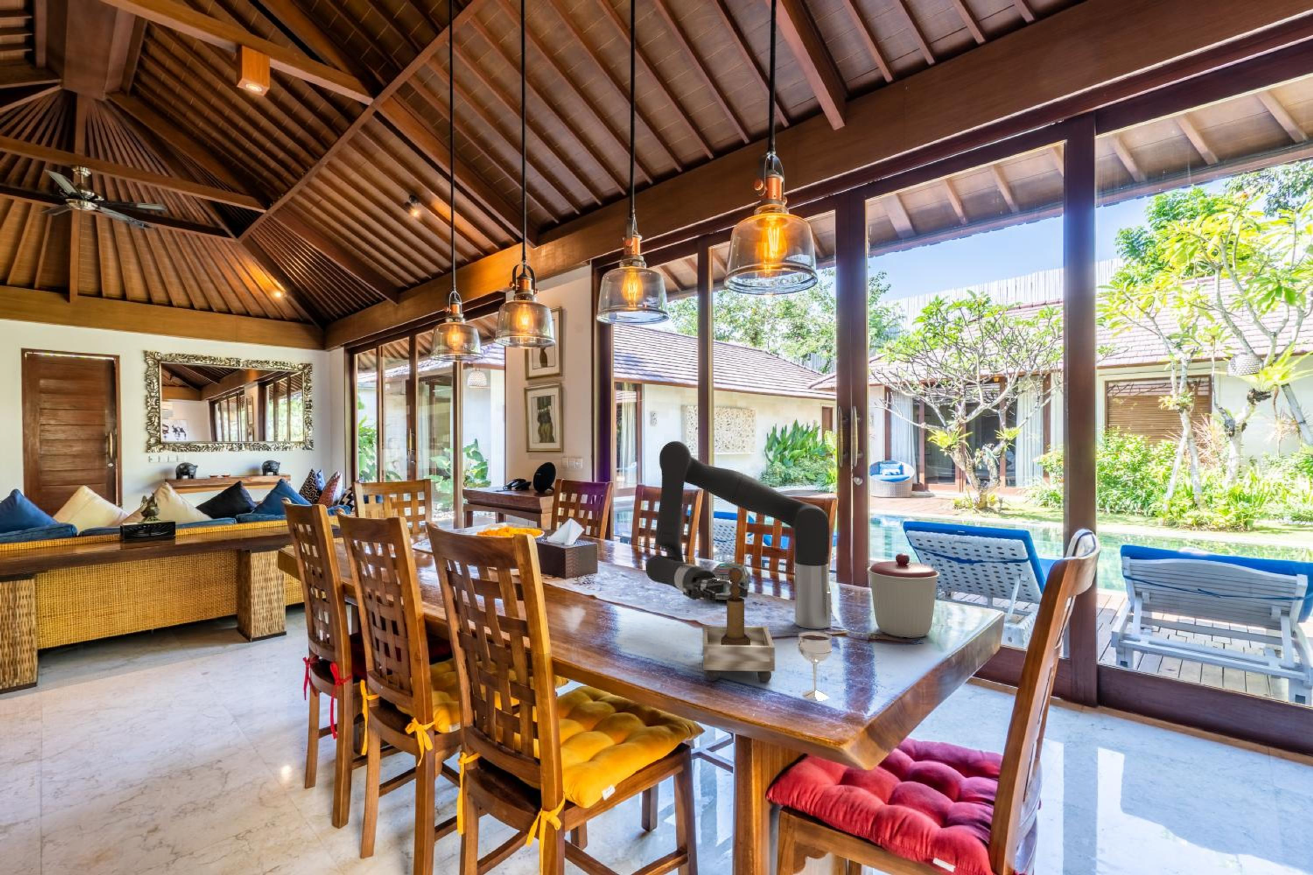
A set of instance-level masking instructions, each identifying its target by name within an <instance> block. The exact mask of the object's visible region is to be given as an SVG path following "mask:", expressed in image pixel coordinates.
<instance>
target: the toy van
mask: <svg viewBox="0 0 1313 875" xmlns="http://www.w3.org/2000/svg"><path fill="white" fill-rule="evenodd" d="M732 568H738V569H740V570H741V572H742V578H741V580H740V581H742V582H744V587H746V588H747V589H748V591H749V590H750V584H751V583H752V582H751V574H750V571H749V570H748V569H747V567H746V565H745V564H742V563H734V562H724V563H719V564H718V565H715V567H714V568H713V569H712V572H713V573H714V575H715V577H716V578H719V579H721V580H728V578H729V575H728V574H729V571H730V569H732ZM723 592H726V587H724V591H723ZM729 597H732V595H731V594H730V595H728V596H726V595H716V600H722V601H723V600H724V601H725V600H726V601H727V598H729ZM739 598H742V597H741V596H739Z"/></svg>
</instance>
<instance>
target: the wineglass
mask: <svg viewBox="0 0 1313 875" xmlns="http://www.w3.org/2000/svg"><path fill="white" fill-rule="evenodd" d="M797 636H798V638H799V639H798V642H797V648H798V652H799V654H800V655H801V656H802V657H803V658H804V659H805V660H808V661H809V662H810V663H811V664H812V669H813V671H812V672H813V686H814V687H813V689H812V690H805V691H804V692H803V693H802V696H803V697H804V698H805V699H808V700H811V701H824V700H826V699H829V695H828V694H827V693H826V692H824V691H820V690H817V681H818V680H817V678H818V677H817V674H818V672H817V671H818V665H819V664H820V663H821V662H824V661H826V660H827V659H828V658H829V657H830V656H831V655H832V654H831V653H832V651H833V644H832V642H831V640H832V638H833V637H832V635H831V634H830V633H828V632H825V631H820V630H804V631H803V630H802V631H799V632H798V633H797Z"/></svg>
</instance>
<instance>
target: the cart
mask: <svg viewBox="0 0 1313 875" xmlns="http://www.w3.org/2000/svg"><path fill="white" fill-rule="evenodd" d="M725 634H727V625H702V669H703V671H705V677H706V679H707V680H708V681H710V682H716V681H717V680H718V679H719V678H720V671H737V672H738V671H739V672H740V671H741V672H742V671H743V672H744V671H745V672H748V671H749V672H756V674H757V675H756V676H757V679H758V680H759V681H760V682H761V683H768V682H769V681H770V680H772V672H776V666H775V665H776V663H775V662H776V661H775V659H776V658H775V657H776V655H775V654H776V652H775V651H776V650H775V648H776V647H775V644H774V642H773V639H772V635H771V634H770V631H769V628H768V626H763V625H762V626H761V625H758V626H757V625H744V634H745V635H747V637H749V638H750V645H721V638H722V637H723V636H724V635H725Z"/></svg>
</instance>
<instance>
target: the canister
mask: <svg viewBox="0 0 1313 875" xmlns="http://www.w3.org/2000/svg"><path fill="white" fill-rule="evenodd" d="M910 560H911V559H910V556H909V555H908V554H907V553H904V552H903V553H898V554H896V555H895V561H894V560H892V561H880V562H876V563H874V564H872V565H871V566H869V567H867V568H866V570H867V573H868V574H869V578H870V586H871V587H870V588H871V595H872V596H871V597H872V604H873V610H874V611H873V613H874V617H875V622H876V625H877V627H878V628H879V630H880V631H881V632H882V633H885V634H887V635H890V636H893V637H897V636H898V637H899V638H903V637H907V639H908V638H909V639H915V638H922V637H925V636H927V635H928V634H929V633H930V631H931V629H932V625H933V619H934V611H935V602H936V592H937V582H938V578H939V577H940V576H941V574H940V572H939V571H938V570H935V568H933V566H930V565H927V564H922V563H919V562H913V561H912V562H911V561H910Z"/></svg>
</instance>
